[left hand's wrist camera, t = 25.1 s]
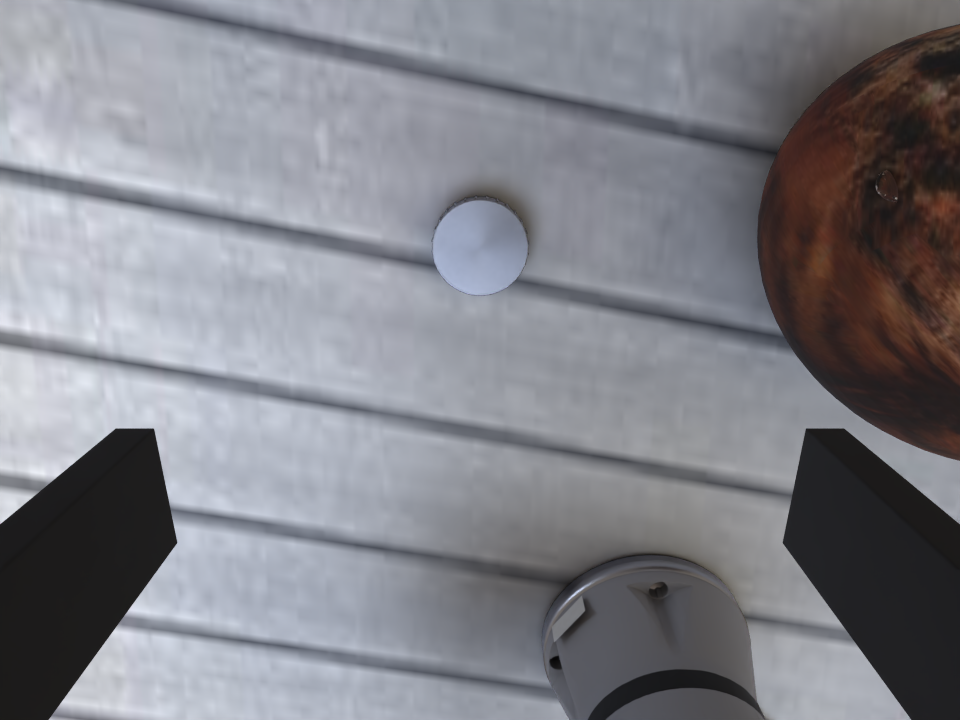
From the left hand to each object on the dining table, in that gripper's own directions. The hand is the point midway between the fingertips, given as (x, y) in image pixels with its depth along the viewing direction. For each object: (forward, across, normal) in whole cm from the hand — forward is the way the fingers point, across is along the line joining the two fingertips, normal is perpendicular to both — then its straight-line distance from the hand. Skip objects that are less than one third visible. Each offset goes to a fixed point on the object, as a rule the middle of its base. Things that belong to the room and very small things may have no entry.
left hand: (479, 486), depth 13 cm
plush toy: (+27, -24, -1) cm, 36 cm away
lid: (+25, 0, 0) cm, 25 cm away
